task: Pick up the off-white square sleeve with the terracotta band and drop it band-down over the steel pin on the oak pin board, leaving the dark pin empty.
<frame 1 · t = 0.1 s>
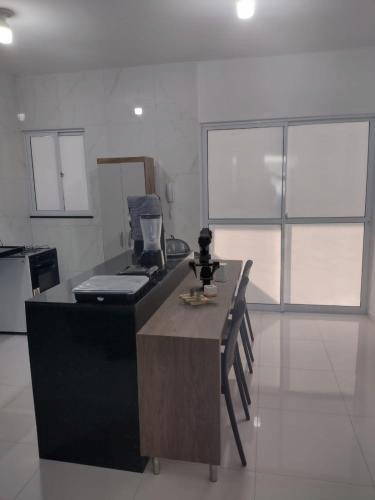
hand: (203, 278, 223), 15 cm above the table, tool tilted 30°, fingers open, 9 cm apart
sleeve: (210, 295, 239), on the table
pin board: (195, 299, 231), on the table
supplement box: (221, 280, 277), on the table
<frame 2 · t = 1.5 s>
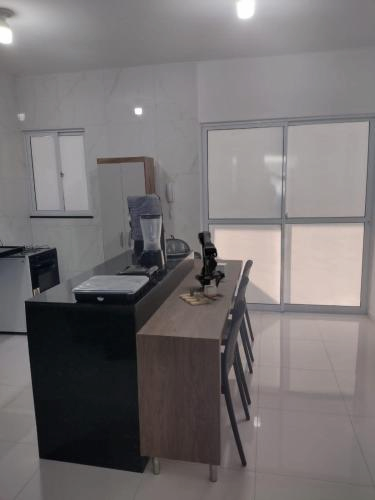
hand: (210, 289, 238), 4 cm above the table, tool pointing down, fingers open, 9 cm apart
nothing on the table moved.
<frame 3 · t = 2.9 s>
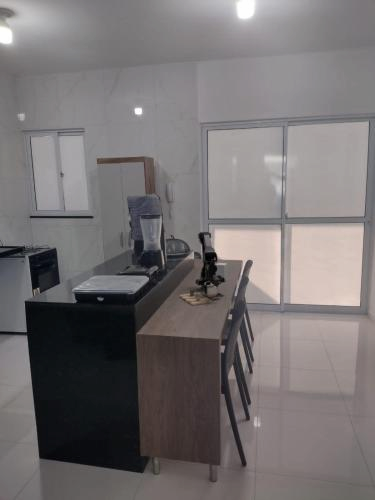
hand: (210, 293, 239), 1 cm above the table, tool pointing down, fingers closed on sleeve, 6 cm apart
sleeve: (210, 295, 239), on the table, touching gripper
everything else where it was.
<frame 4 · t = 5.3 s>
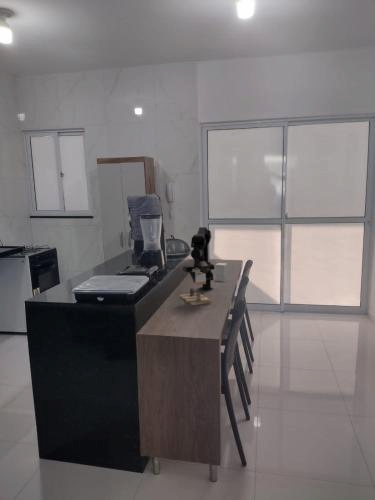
hand: (199, 281, 224), 12 cm above the table, tool pointing down, fingers closed on sleeve, 6 cm apart
sleeve: (199, 283, 224), point 11 cm above the table, touching gripper
everything else where it was.
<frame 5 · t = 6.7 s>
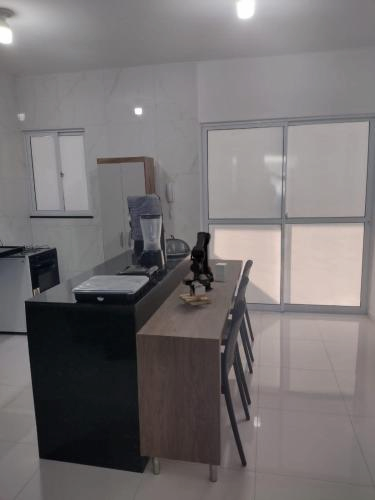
hand: (198, 294, 225), 5 cm above the table, tool pointing down, fingers closed on sleeve, 6 cm apart
sleeve: (198, 295, 225), point 4 cm above the table, touching gripper
everything else where it was.
when the fingers open (3 cm above the table, at t = 7.9 s): sleeve drops 1 cm, resting on pin board.
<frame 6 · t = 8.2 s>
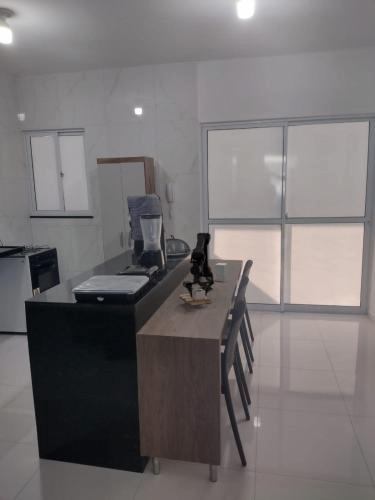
hand: (198, 296, 226), 3 cm above the table, tool pointing down, fingers open, 9 cm apart
sleeve: (198, 299, 226), point 1 cm above the table, touching pin board
everything else where it was.
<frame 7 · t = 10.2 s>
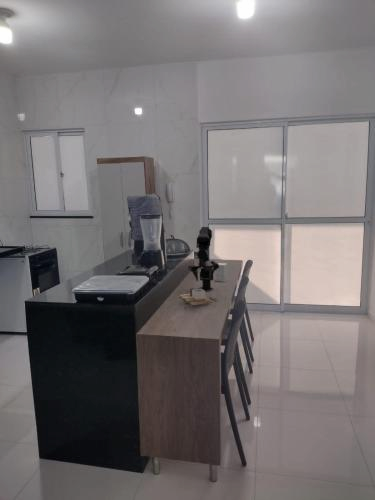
hand: (203, 280, 231), 11 cm above the table, tool pointing down, fingers open, 9 cm apart
nothing on the table moved.
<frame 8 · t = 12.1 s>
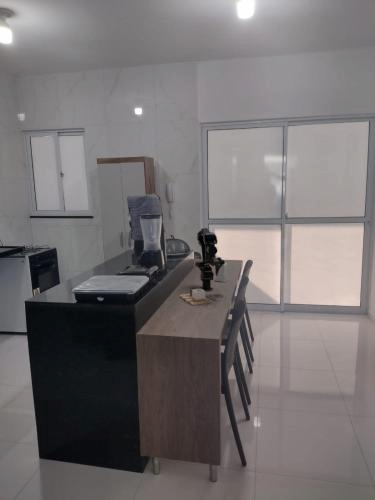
hand: (210, 276, 239), 12 cm above the table, tool pointing down, fingers open, 9 cm apart
nothing on the table moved.
at the end: sleeve 0.1 cm from the target spot on the pin board, point 1.2 cm above the pin board's base; sleeve tilted 0°; the gripper is holding nothing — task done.
